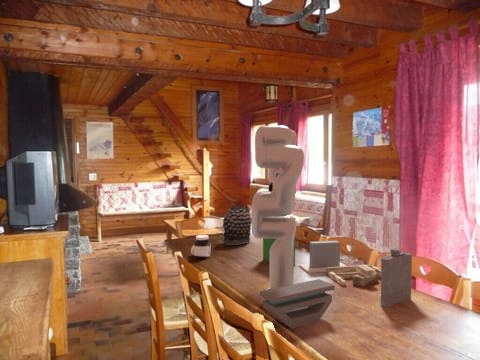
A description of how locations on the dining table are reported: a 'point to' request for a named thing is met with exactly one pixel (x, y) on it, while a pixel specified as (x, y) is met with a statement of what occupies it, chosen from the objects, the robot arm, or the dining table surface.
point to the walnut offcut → (364, 280)
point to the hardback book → (267, 245)
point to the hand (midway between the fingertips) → (274, 195)
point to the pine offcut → (365, 271)
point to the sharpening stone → (298, 302)
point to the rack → (346, 273)
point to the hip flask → (395, 278)
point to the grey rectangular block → (324, 254)
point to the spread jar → (201, 247)
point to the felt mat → (312, 270)
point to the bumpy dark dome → (237, 225)
